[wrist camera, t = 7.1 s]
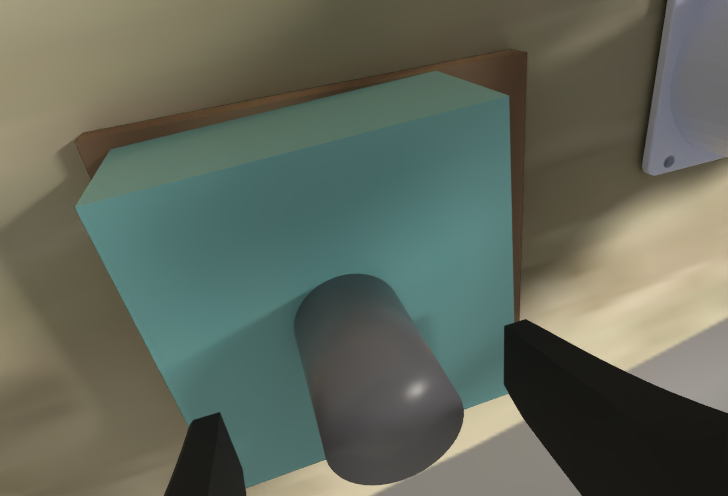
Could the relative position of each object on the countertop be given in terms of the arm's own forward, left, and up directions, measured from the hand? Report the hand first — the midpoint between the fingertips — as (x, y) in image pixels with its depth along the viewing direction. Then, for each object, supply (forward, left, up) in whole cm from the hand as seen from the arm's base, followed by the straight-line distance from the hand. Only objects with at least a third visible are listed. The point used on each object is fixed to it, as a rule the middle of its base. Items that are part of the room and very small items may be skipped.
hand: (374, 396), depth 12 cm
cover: (0, -1, -6) cm, 7 cm away
